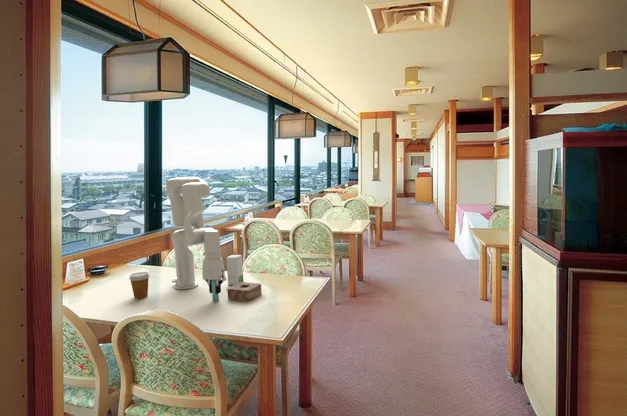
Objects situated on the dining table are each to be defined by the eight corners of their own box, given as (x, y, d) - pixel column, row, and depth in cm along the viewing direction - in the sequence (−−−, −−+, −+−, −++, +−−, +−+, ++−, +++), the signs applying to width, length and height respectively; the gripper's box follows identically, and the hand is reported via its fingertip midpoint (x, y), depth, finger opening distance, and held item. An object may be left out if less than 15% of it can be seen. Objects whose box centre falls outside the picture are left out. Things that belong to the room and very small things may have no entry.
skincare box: (238, 285, 228) (236, 257, 226) (227, 285, 229) (225, 257, 227) (244, 281, 236) (242, 254, 234) (233, 281, 237) (231, 254, 236)
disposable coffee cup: (155, 294, 217) (153, 272, 216) (142, 300, 208) (140, 277, 207) (140, 293, 220) (138, 271, 219) (126, 299, 211) (124, 276, 210)
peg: (211, 301, 202) (209, 277, 201) (215, 299, 205) (213, 275, 204) (216, 302, 201) (215, 277, 200) (220, 300, 204) (218, 276, 203)
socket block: (228, 299, 204) (227, 288, 203) (241, 292, 215) (240, 282, 214) (249, 301, 200) (248, 290, 199) (261, 294, 211) (261, 283, 210)
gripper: (193, 256, 200) (196, 293, 202) (222, 258, 194) (225, 296, 196) (203, 253, 207) (205, 289, 209) (231, 254, 201) (233, 291, 203)
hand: (215, 292), depth 203 cm, fingers closed on peg, 3 cm apart
